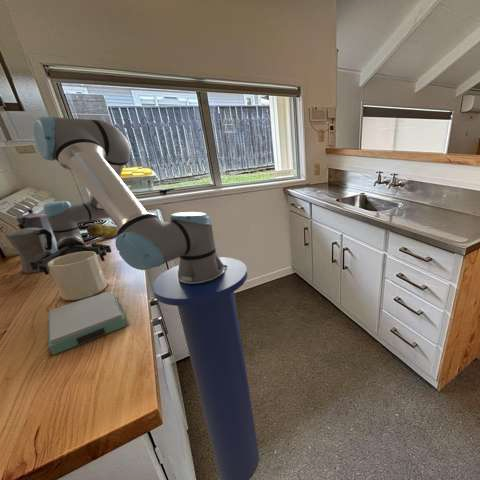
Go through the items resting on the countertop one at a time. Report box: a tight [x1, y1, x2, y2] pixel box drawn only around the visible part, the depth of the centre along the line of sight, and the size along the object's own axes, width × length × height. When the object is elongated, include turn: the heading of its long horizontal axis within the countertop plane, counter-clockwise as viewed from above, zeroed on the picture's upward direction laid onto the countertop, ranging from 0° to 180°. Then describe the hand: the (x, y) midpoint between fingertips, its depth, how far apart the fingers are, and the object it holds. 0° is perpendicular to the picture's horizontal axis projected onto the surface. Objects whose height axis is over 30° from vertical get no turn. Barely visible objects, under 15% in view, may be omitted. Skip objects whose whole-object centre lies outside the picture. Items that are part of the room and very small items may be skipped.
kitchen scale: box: [47, 290, 128, 356], centre depth 67 cm, size 14×19×3 cm
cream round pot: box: [48, 251, 108, 301], centre depth 81 cm, size 11×11×12 cm
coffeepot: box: [4, 223, 53, 274], centre depth 97 cm, size 15×9×18 cm, turn 94°
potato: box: [86, 223, 118, 239], centre depth 131 cm, size 8×13×8 cm, turn 133°
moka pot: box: [15, 208, 58, 254], centre depth 109 cm, size 10×15×20 cm, turn 33°
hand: (75, 263), depth 82 cm, fingers open, 13 cm apart
